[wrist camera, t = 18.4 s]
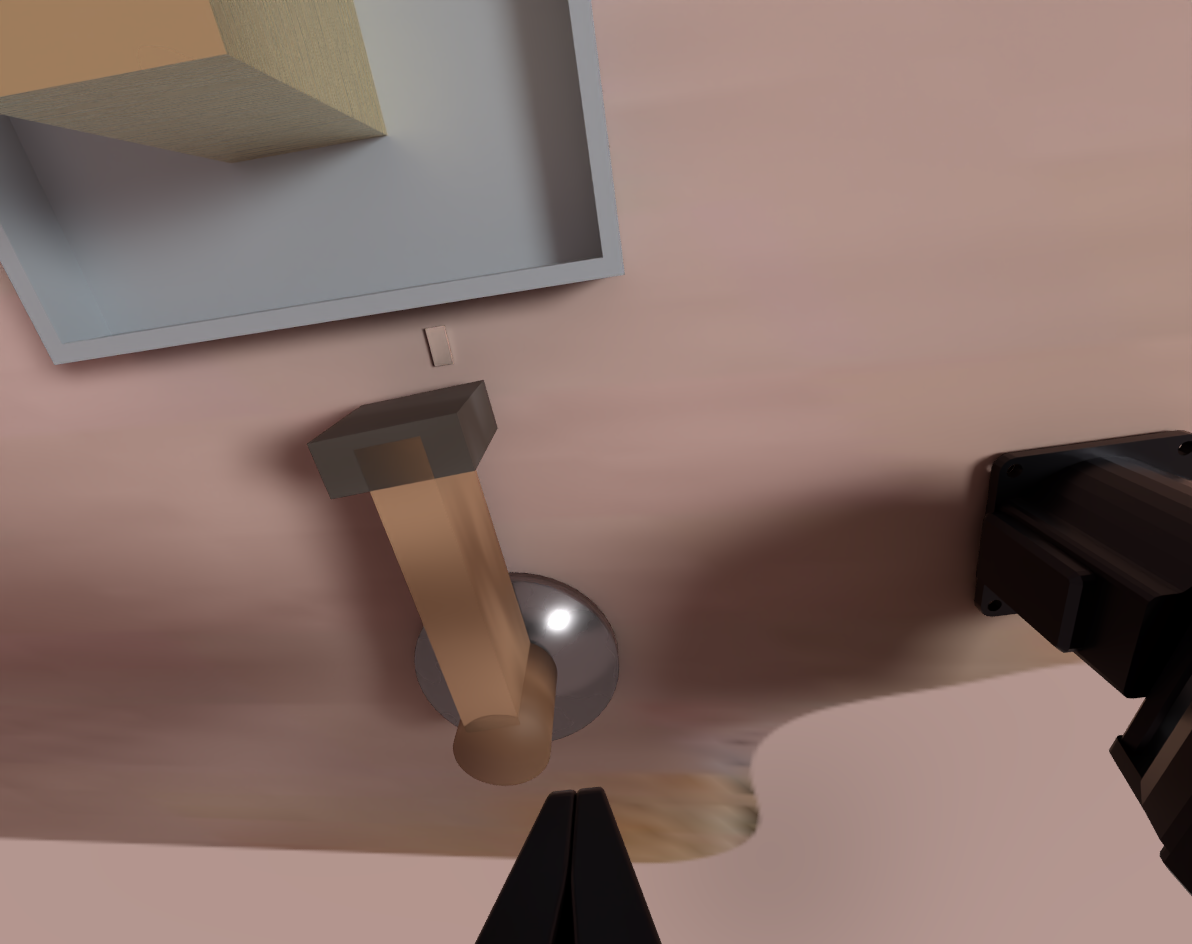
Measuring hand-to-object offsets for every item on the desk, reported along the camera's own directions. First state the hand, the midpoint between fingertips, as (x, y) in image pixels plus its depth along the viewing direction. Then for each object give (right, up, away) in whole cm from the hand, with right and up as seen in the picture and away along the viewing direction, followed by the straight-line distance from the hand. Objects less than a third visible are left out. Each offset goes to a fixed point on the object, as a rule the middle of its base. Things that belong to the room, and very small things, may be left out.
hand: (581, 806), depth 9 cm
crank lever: (-4, +2, +11) cm, 12 cm away
